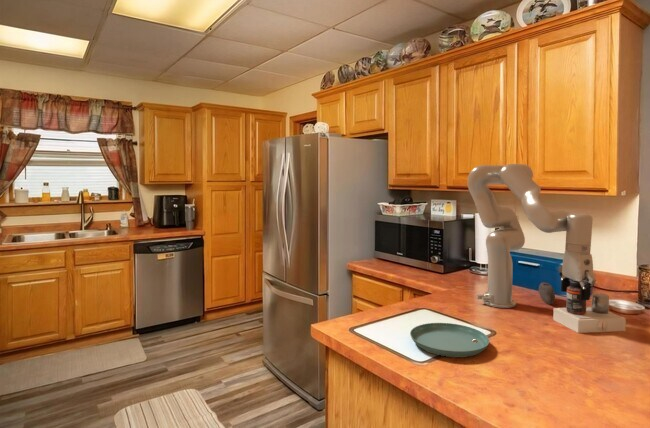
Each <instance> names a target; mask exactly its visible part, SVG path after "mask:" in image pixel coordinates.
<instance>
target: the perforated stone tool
mask: <svg viewBox="0 0 650 428" xmlns="http://www.w3.org/2000/svg"><path fill="white" fill-rule="evenodd" d="M538 294H539V296H540V299H541V300H542V301H544V303H546V304H548V305H552V304H554V303H555V299H556V293H555V290H554V288H553V286H552V285H551V284H550V283H549V282H541V283H539V285H538Z"/></svg>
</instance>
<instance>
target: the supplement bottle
mask: <svg viewBox="0 0 650 428" xmlns="http://www.w3.org/2000/svg"><path fill="white" fill-rule="evenodd" d="M569 281H570V286H568V287H567V292H566V307H565V308H567V311H568V312H569V313H572V314H578V315H581V314H585V313H586V307H587V300H580V289H581V288H582V287H581V285H580V282H577V281H574V280H572V279H570V280H569Z"/></svg>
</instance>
